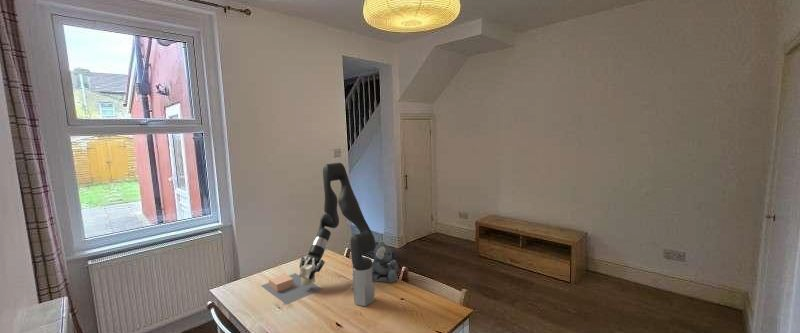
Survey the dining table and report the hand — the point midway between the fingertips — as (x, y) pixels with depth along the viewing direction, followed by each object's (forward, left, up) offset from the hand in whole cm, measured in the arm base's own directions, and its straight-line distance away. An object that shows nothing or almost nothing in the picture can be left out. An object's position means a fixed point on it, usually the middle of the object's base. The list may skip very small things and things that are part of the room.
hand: (305, 278), depth 161 cm
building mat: (+9, +3, -7) cm, 12 cm away
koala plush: (-17, -38, -8) cm, 42 cm away
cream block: (+1, -2, -4) cm, 4 cm away
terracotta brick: (+14, +6, -7) cm, 17 cm away
